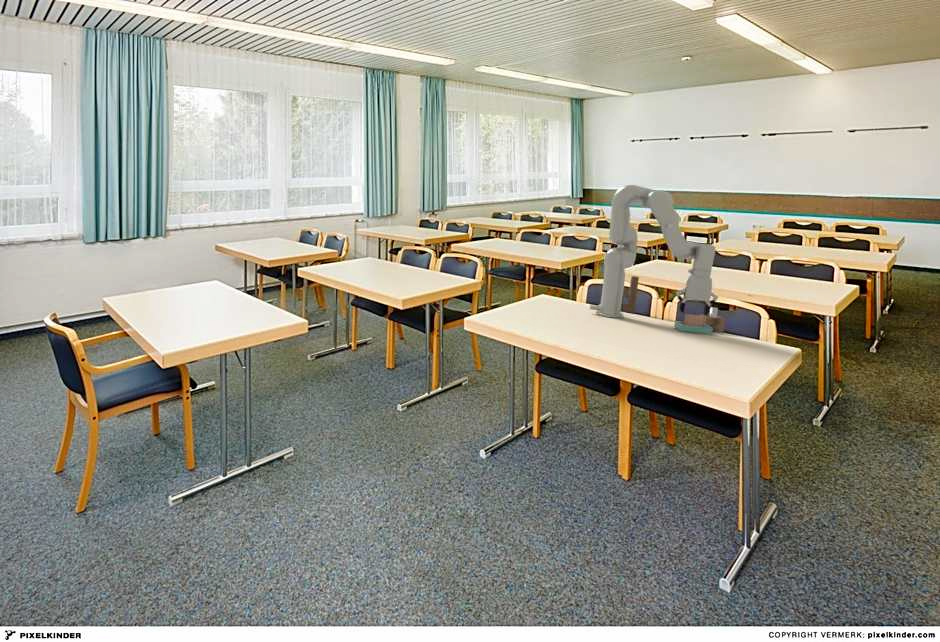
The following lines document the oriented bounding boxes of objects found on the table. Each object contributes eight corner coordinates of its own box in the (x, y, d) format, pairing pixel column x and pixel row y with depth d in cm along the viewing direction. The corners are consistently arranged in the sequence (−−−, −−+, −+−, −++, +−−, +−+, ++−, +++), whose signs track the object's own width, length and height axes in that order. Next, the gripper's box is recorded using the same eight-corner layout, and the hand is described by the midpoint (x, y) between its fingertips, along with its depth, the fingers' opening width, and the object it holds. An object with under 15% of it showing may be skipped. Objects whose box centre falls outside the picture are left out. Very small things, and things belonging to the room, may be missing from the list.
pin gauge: (708, 330, 255) (711, 307, 253) (706, 329, 258) (709, 307, 256) (715, 331, 255) (719, 308, 253) (713, 329, 258) (716, 307, 256)
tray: (680, 331, 245) (681, 324, 245) (674, 327, 255) (675, 320, 254) (711, 335, 244) (712, 327, 244) (704, 330, 254) (705, 323, 253)
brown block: (704, 330, 253) (706, 317, 252) (698, 327, 261) (700, 314, 260) (722, 332, 252) (725, 319, 251) (716, 329, 260) (719, 316, 259)
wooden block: (615, 309, 297) (620, 274, 294) (635, 312, 291) (640, 276, 287) (612, 309, 294) (617, 274, 291) (632, 313, 288) (637, 277, 285)
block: (687, 330, 247) (689, 316, 246) (683, 327, 253) (685, 314, 252) (701, 331, 246) (703, 317, 245) (697, 329, 252) (699, 315, 251)
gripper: (682, 272, 242) (675, 312, 246) (724, 277, 241) (716, 317, 244) (677, 270, 250) (670, 309, 253) (719, 275, 248) (711, 314, 252)
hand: (693, 313), depth 249 cm, fingers open, 9 cm apart
